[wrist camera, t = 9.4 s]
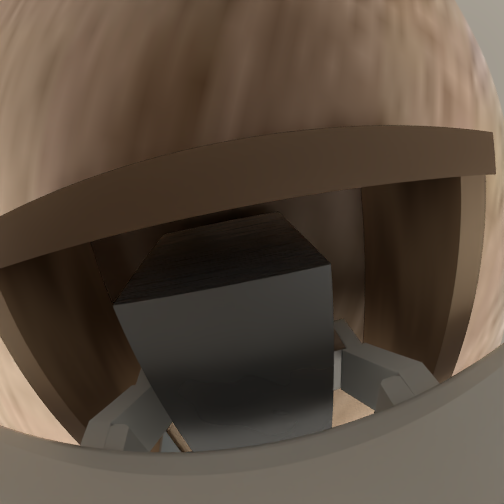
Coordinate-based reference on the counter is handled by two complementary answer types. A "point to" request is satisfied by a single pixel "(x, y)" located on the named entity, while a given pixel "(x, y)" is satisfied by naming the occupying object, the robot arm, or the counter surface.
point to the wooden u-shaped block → (239, 195)
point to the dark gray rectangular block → (235, 332)
